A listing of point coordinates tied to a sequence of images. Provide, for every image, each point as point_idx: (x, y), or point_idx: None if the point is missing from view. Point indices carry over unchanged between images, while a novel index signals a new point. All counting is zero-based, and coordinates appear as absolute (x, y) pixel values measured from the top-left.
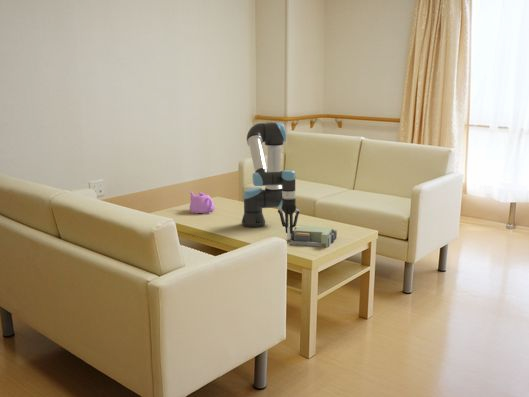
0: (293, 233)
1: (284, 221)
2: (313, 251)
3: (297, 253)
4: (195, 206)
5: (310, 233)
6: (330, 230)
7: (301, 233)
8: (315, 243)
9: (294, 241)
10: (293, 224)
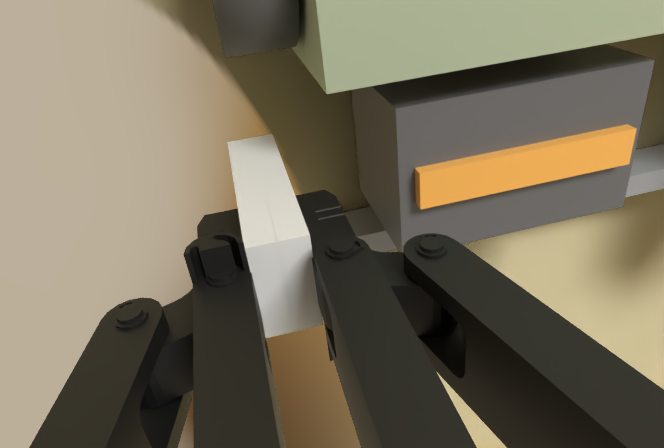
0: (279, 41)
1: (139, 409)
2: (605, 320)
3: (479, 419)
4: None
5: (647, 66)
6: None
7: (506, 184)
8: (644, 187)
9: (383, 251)
10: (440, 365)
